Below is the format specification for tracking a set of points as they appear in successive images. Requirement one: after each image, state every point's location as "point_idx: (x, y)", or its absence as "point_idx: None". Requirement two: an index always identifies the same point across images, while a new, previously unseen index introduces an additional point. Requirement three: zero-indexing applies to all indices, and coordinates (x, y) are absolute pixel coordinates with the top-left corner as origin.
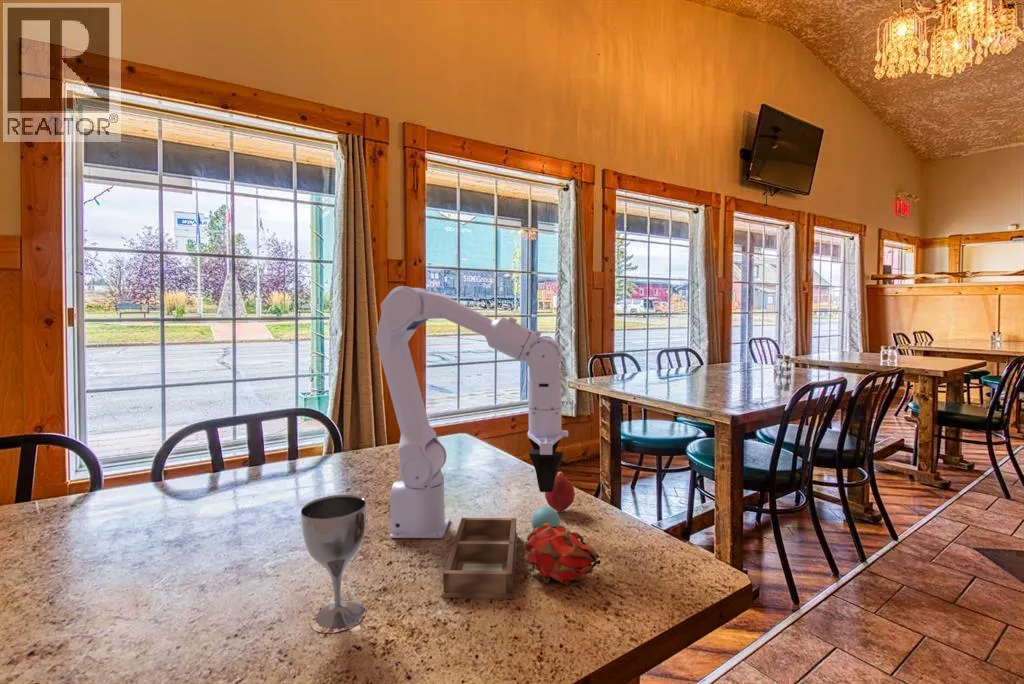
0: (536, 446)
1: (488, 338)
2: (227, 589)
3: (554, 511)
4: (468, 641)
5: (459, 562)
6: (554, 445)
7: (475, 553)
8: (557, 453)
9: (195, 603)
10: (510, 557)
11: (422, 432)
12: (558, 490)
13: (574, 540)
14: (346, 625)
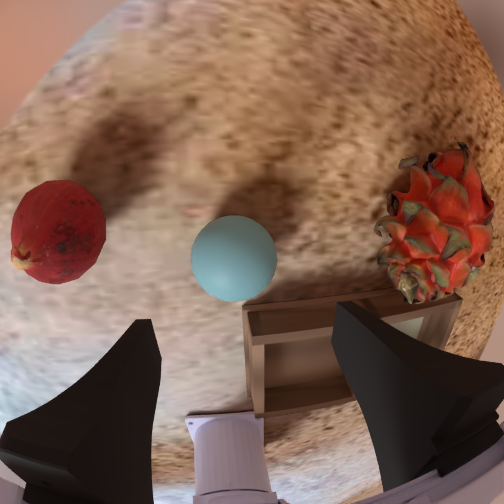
0: (146, 485)
1: None
2: (349, 475)
3: (240, 246)
4: (481, 307)
5: None
6: (100, 438)
7: None
8: (487, 406)
9: (363, 474)
10: (425, 312)
11: None
12: (84, 244)
13: (478, 205)
14: None
